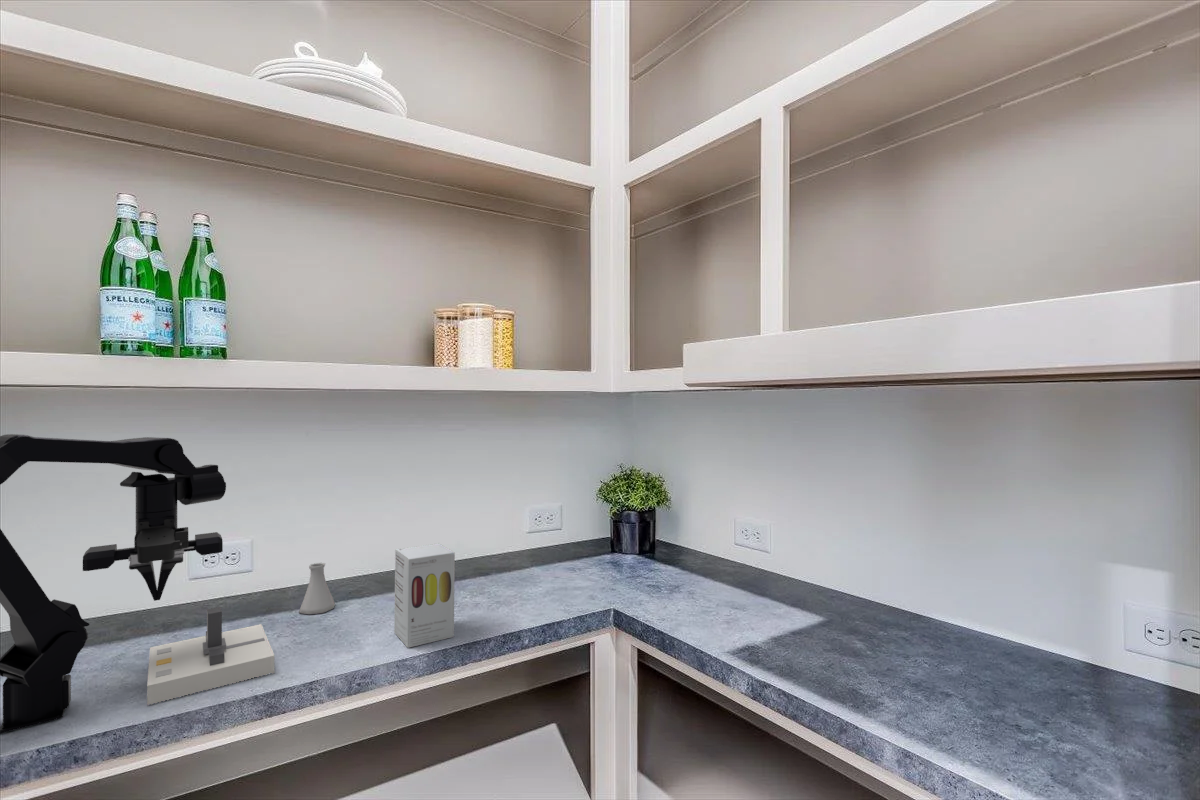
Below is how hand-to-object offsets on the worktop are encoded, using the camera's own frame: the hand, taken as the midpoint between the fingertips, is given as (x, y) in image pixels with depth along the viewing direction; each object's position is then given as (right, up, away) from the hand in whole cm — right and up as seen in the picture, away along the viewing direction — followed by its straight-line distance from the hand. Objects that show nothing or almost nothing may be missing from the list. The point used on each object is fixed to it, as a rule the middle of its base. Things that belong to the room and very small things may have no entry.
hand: (157, 599), depth 98 cm
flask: (+14, -12, +28) cm, 34 cm away
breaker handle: (+10, -9, 0) cm, 13 cm away
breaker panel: (+9, -12, 0) cm, 15 cm away
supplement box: (+42, -12, +14) cm, 46 cm away
